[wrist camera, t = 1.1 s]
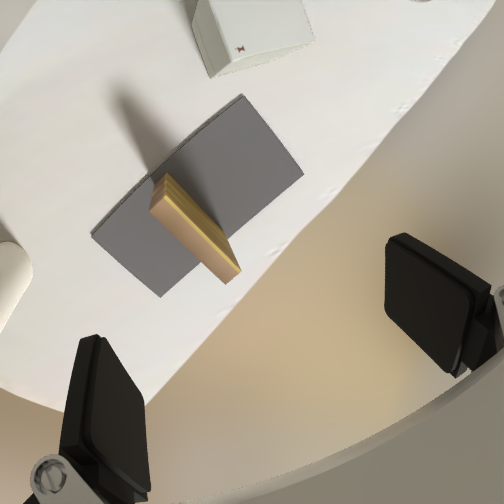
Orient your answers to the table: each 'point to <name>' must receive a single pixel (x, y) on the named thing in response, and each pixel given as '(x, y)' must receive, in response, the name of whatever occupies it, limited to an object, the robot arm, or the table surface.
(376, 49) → the table surface
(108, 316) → the table surface
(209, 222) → the tile
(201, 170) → the mat
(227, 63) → the supplement box
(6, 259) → the cylindrical container
